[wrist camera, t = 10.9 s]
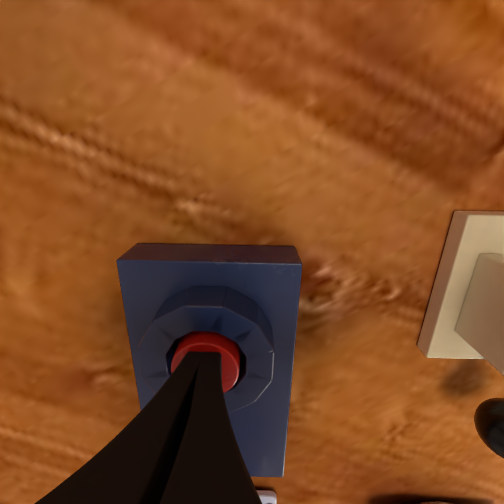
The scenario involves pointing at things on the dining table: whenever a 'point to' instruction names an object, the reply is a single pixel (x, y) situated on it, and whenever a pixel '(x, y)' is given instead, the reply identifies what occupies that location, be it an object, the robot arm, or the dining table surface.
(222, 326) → the push button base
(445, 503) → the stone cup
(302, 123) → the dining table surface
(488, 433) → the toggle
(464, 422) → the dining table surface
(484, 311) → the switch box
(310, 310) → the dining table surface
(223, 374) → the red push button
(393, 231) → the dining table surface
